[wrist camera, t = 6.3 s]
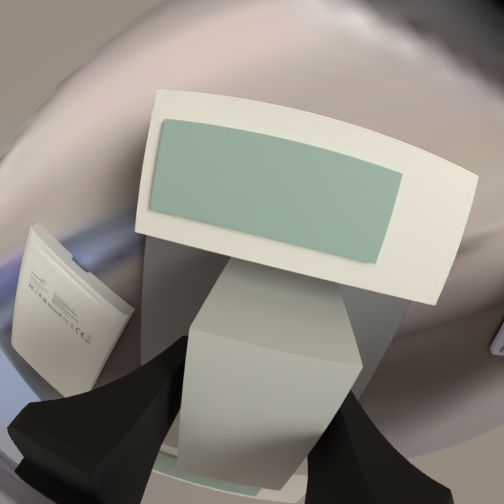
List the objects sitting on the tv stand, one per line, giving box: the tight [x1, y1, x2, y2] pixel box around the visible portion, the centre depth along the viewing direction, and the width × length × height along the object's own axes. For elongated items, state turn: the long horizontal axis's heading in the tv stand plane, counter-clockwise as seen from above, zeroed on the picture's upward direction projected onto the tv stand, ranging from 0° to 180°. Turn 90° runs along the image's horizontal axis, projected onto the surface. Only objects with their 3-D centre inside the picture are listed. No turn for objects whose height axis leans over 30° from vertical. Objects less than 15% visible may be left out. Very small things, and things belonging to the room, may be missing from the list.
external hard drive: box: [11, 223, 135, 398], centre depth 16 cm, size 2×8×12 cm
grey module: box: [177, 257, 363, 491], centre depth 10 cm, size 4×7×6 cm, turn 168°
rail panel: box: [135, 89, 479, 503], centre depth 12 cm, size 12×18×5 cm, turn 168°
